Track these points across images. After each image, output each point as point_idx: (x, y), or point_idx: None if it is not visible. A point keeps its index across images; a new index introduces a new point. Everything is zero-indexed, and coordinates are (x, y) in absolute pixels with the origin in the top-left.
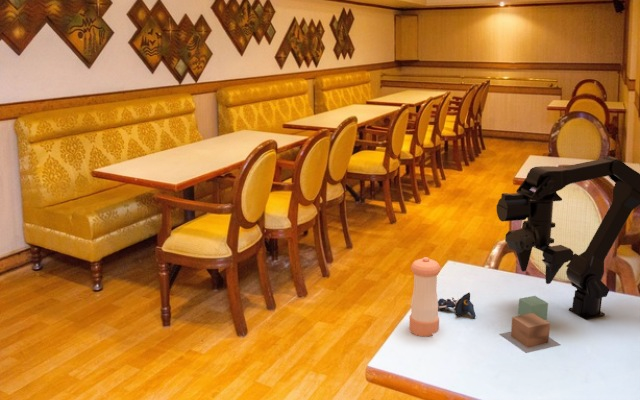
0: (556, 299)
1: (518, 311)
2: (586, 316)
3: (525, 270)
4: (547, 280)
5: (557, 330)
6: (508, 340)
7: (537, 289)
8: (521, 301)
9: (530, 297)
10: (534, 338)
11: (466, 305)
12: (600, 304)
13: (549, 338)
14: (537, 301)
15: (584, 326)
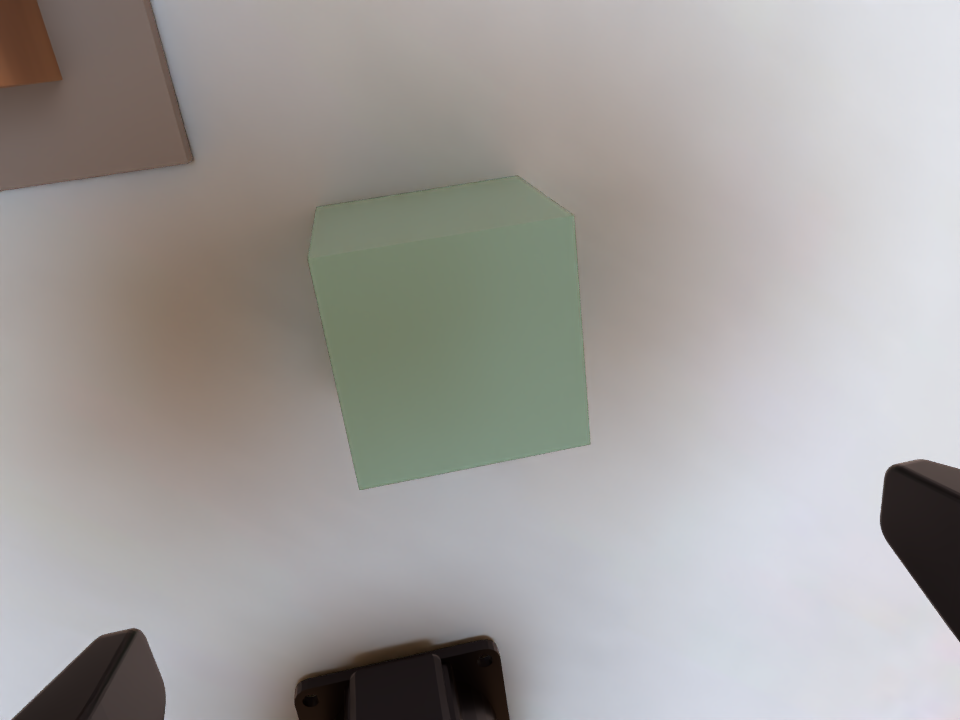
0: (694, 637)
1: (524, 184)
2: (321, 706)
3: (887, 531)
4: (31, 704)
5: (134, 386)
6: None
7: (898, 587)
8: (517, 218)
9: (559, 371)
10: None
11: None
12: None
13: None
14: (431, 396)
15: (186, 625)
